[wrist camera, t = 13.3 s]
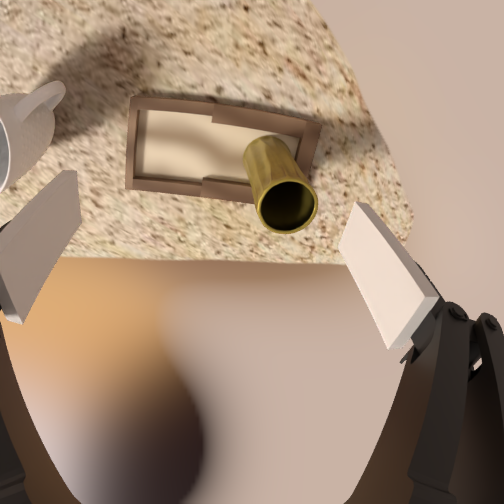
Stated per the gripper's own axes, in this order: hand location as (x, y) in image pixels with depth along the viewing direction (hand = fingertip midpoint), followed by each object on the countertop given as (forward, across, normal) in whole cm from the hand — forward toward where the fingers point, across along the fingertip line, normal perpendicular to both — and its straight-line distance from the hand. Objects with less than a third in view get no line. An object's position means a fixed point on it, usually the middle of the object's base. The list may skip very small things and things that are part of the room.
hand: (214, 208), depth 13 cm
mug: (+25, -25, -1) cm, 35 cm away
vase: (+24, +7, -5) cm, 26 cm away
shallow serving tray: (+24, +1, -5) cm, 25 cm away
